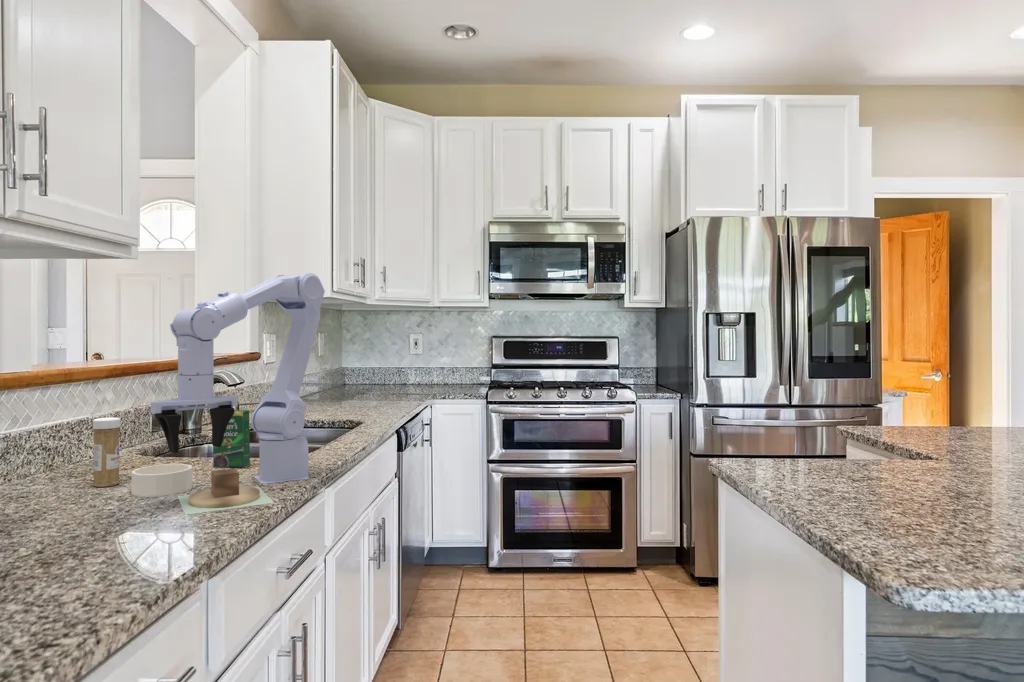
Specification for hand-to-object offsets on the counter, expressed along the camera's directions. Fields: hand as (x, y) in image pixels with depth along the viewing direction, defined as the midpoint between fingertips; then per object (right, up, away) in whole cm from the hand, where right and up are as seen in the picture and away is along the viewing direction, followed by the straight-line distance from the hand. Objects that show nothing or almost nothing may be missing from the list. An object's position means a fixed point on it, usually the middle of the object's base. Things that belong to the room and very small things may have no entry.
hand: (195, 449), depth 110 cm
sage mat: (+6, -10, -1) cm, 11 cm away
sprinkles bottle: (-24, -10, +12) cm, 29 cm away
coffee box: (-8, -10, +30) cm, 33 cm away
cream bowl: (-10, -9, +6) cm, 15 cm away
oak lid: (+6, -9, -1) cm, 11 cm away
